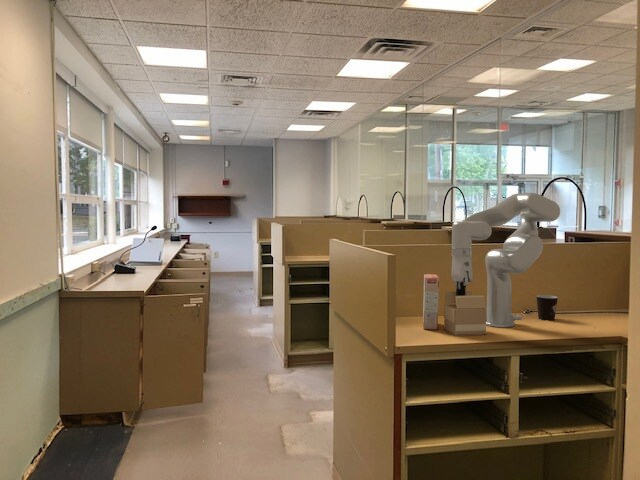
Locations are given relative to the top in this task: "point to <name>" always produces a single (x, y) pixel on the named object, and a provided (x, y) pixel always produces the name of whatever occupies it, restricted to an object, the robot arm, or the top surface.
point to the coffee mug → (546, 307)
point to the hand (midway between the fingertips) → (460, 298)
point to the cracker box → (430, 301)
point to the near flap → (470, 302)
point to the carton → (465, 320)
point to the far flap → (454, 296)
